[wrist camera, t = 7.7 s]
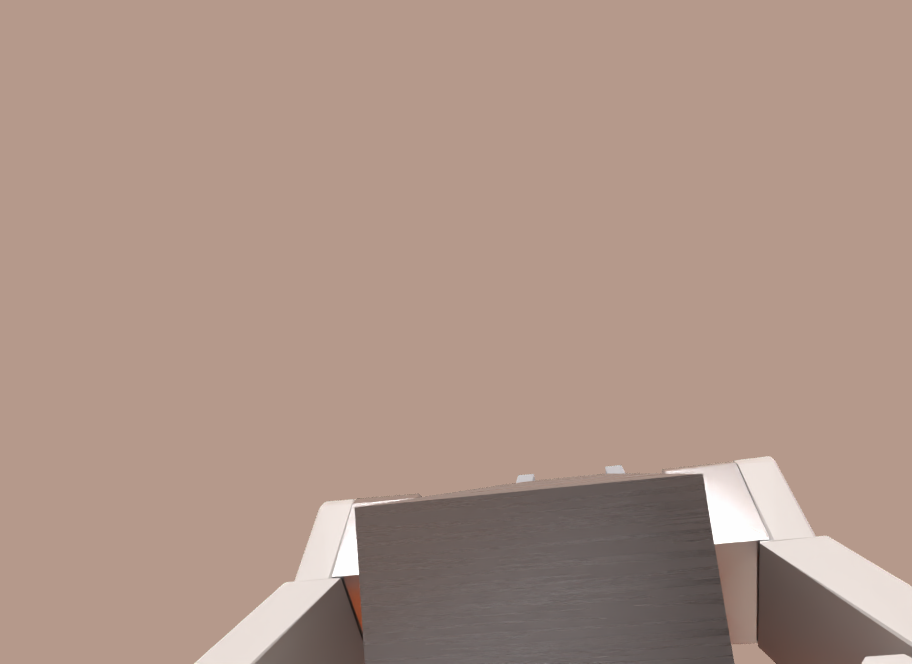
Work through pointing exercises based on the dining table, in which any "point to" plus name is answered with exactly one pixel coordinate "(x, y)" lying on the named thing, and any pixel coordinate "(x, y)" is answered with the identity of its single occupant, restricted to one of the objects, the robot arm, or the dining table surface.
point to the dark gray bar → (545, 574)
